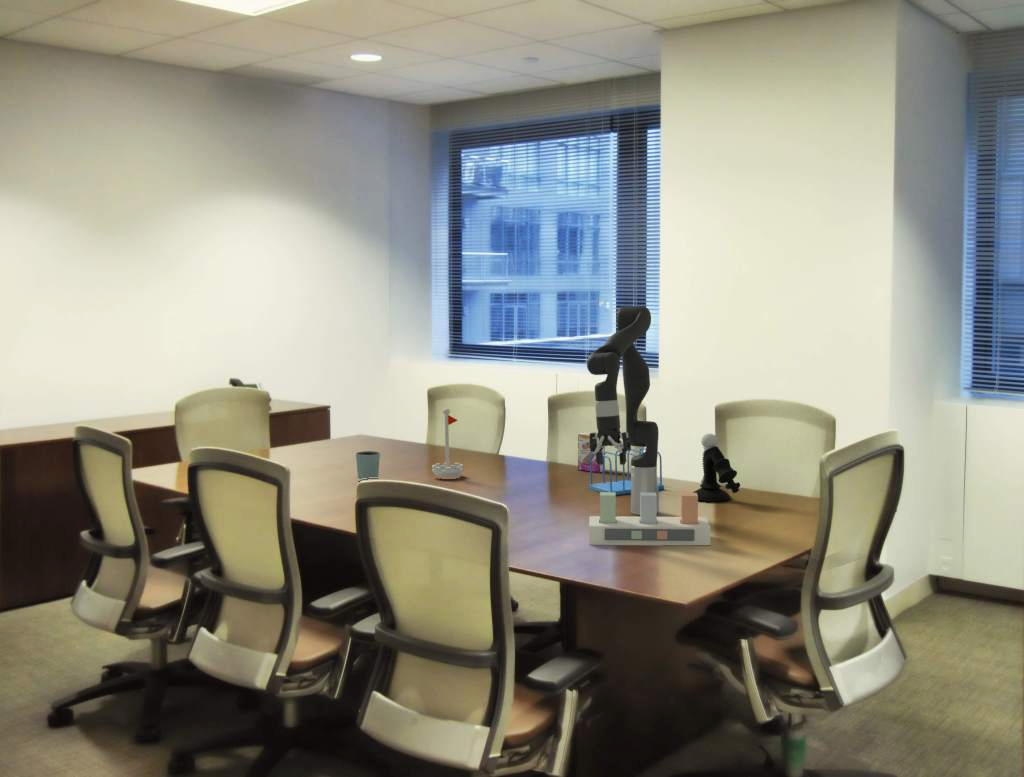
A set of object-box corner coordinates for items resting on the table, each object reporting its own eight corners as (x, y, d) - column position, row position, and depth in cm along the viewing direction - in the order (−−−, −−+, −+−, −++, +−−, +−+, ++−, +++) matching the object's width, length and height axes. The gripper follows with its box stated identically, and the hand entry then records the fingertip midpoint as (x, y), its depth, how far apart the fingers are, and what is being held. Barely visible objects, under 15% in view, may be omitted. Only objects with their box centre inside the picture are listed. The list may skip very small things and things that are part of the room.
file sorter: (641, 483, 429) (641, 446, 427) (664, 490, 413) (664, 452, 412) (588, 488, 418) (588, 451, 417) (610, 496, 403) (609, 457, 401)
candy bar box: (577, 470, 457) (577, 433, 455) (582, 469, 461) (582, 432, 460) (600, 473, 451) (600, 435, 449) (605, 471, 455) (605, 434, 454)
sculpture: (714, 493, 406) (714, 430, 403) (753, 504, 385) (754, 437, 382) (682, 497, 399) (682, 433, 396) (720, 509, 378) (721, 441, 375)
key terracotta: (681, 526, 331) (682, 495, 330) (680, 523, 336) (680, 492, 335) (697, 526, 330) (697, 495, 329) (696, 523, 335) (696, 492, 334)
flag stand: (427, 479, 441) (426, 409, 438) (438, 474, 454) (437, 405, 451) (456, 480, 438) (455, 410, 435) (467, 475, 450) (465, 406, 447)
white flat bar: (588, 545, 329) (588, 526, 328) (589, 534, 343) (589, 516, 343) (710, 546, 325) (710, 527, 325) (705, 535, 340) (706, 517, 339)
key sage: (600, 526, 333) (599, 495, 332) (600, 522, 338) (600, 492, 337) (615, 526, 333) (615, 495, 332) (615, 522, 338) (615, 492, 336)
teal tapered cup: (353, 479, 443) (352, 452, 441) (376, 477, 447) (375, 450, 446) (360, 483, 434) (359, 455, 432) (383, 481, 438) (383, 453, 437)
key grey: (640, 526, 332) (640, 495, 331) (640, 522, 337) (640, 492, 336) (656, 526, 331) (656, 495, 330) (655, 522, 336) (655, 492, 335)
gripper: (632, 412, 333) (636, 463, 334) (595, 413, 342) (599, 462, 342) (619, 415, 327) (623, 466, 328) (582, 416, 336) (586, 465, 337)
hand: (611, 464), depth 335 cm, fingers open, 8 cm apart
